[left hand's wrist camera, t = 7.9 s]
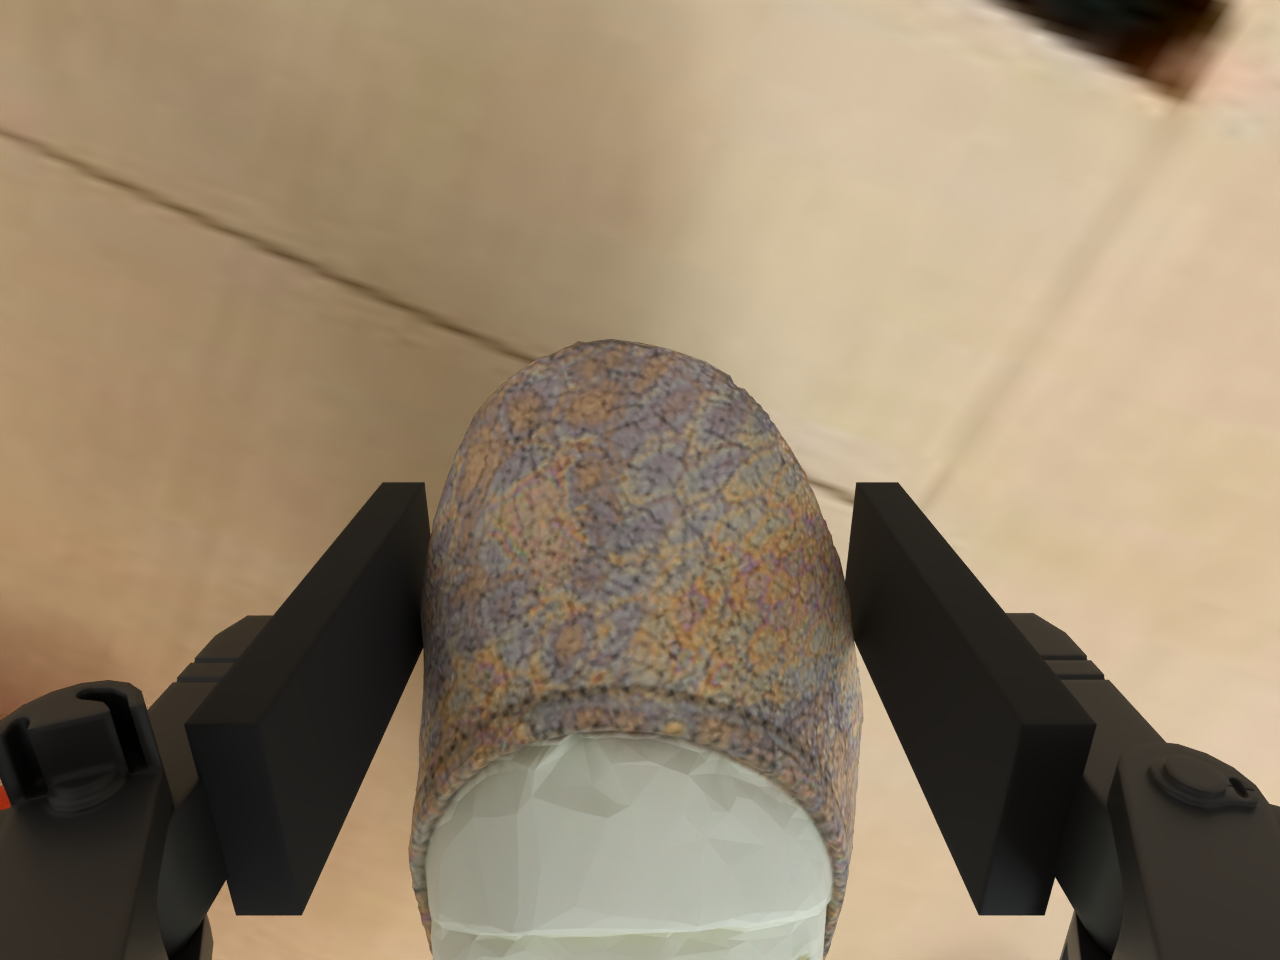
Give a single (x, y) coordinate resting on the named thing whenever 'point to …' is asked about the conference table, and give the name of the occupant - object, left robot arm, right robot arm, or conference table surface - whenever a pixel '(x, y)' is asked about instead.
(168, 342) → the conference table surface
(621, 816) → the ballet flat
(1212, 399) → the conference table surface
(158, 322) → the conference table surface
